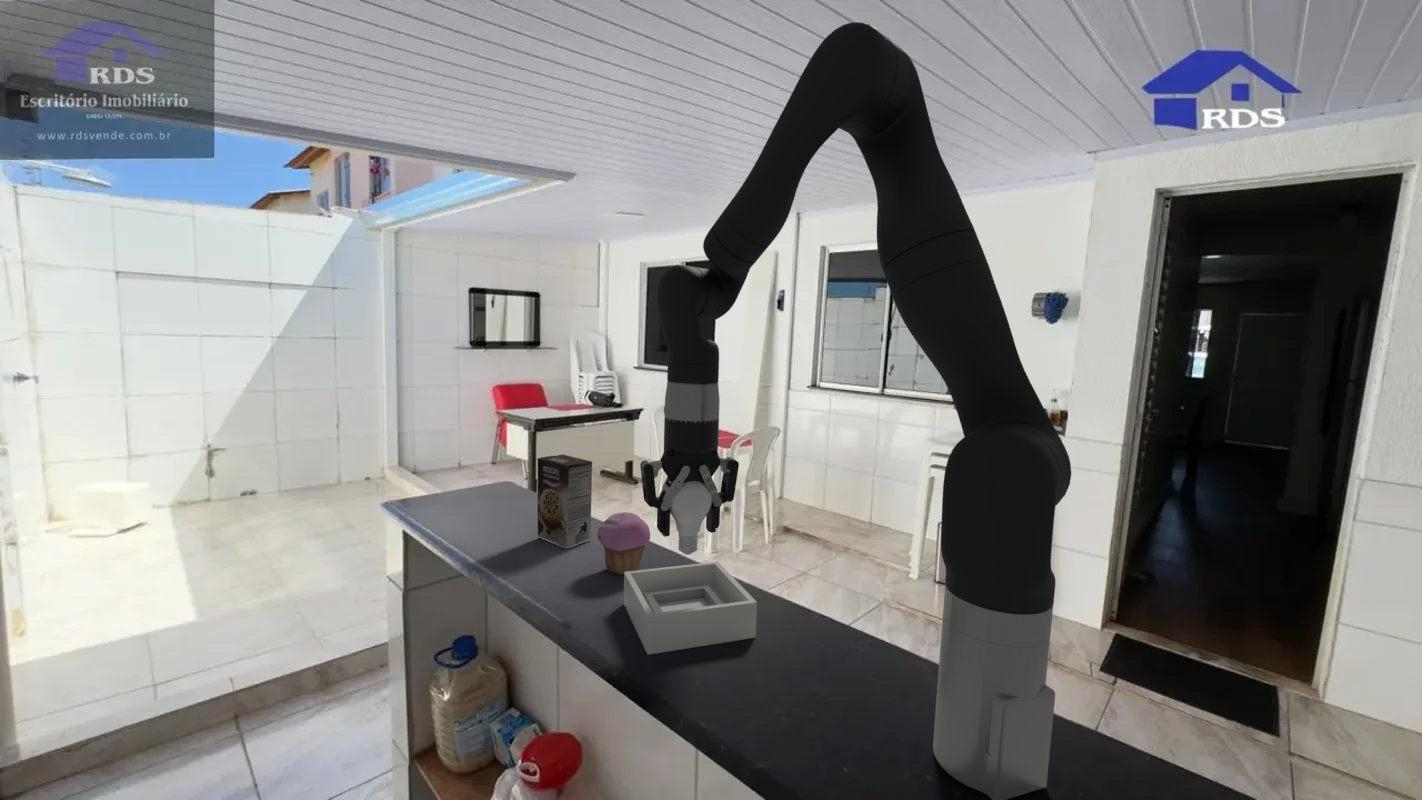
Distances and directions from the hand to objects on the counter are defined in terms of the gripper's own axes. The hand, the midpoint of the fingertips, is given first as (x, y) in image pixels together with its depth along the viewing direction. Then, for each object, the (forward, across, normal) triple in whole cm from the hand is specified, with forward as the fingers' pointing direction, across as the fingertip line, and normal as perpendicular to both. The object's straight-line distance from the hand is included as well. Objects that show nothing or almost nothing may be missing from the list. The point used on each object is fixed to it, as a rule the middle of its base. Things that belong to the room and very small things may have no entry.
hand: (688, 532), depth 84 cm
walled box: (+13, 0, 0) cm, 13 cm away
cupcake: (+13, -5, +20) cm, 24 cm away
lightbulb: (+3, 0, 0) cm, 3 cm away
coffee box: (+13, -13, +38) cm, 42 cm away
